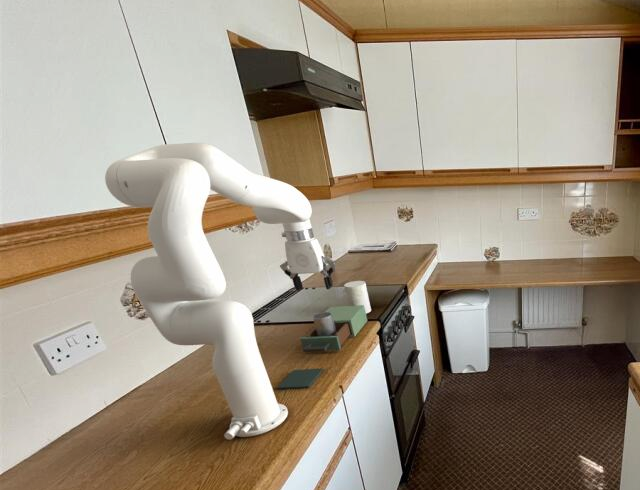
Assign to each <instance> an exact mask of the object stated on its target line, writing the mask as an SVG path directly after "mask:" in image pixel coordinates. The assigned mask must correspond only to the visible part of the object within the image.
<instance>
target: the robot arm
mask: <svg viewBox="0 0 640 490" xmlns="http://www.w3.org/2000/svg"><path fill="white" fill-rule="evenodd" d="M104 180H105V185H106V188H107V190H108V192H109V193H110V194H111V196H112V197H113V198H115V199H116V200H118V202H120V203H122V204H124V205H126V206H130V207H133V208H152V209H151V211H150V214H149V217H148V221H147V235H148V238H149V241H150V243H151V245H152V247H153V249H154V250H155V253H156V255H152V256H147V257H144V258H141V259H139V260H138V261H136V263H134V265H133V266H132V268H131V271H130V284H131V288H132V290H133V292H134V295H135V297H136V298H137V300H138V301H139V303H140V305H141V307H143V309H144V310H145V312H146V313H147V315H148V317H149V318H150V320H151V321H152V323H153V325H154V326H155V328H156V329H157V330H158V332H159V334H160V335H161V336H162V337H163V338H164V339H165V340H166V341H168V342H169V343H171V344H173V345H177V346H205V345H207V346H210V345H211V346H214V347H215V350H214V353H213V355H212V358H211V366H212V370H213V372H214V374H215V376H216V379H217V382H218V383H219V386H220V388H221V391H222V394H223V396H224V398H225V400H226V401H225V402H226V403H227V405H228V408H229V410H230V412H231V415H232V417H231V419H230V421H231V422H230V424H229V429H227V430H226V432H225V433H224V434H223V437H224V439H225V440H230V441H231V440H233V439H234V438H235V437H238V438H250V437H254V436H259V435H262V434H265V433H267V432H271V431H272V430H274V429H275V428H277V427H278V426H280V425H281V424H282V423H283V422H284V421H285V420H286V419H287V417H288V416H289V410H288V408H287V406H286V405H285V404H282V403H278V401H277V400H278V399H277V398H276V395H275V392H274V389H273V386H272V383H271V381H270V377H269V375H268V372H267V369H266V367H265V364H264V361H263V358H262V355H261V353H260V349H259V346H258V342H257V338H256V331H255V321H254V317H253V313H252V312H251V310H250V309H249V308H248V307H247V306H246V305H245V304H243V303H241V302H238V301H235V300H226V299H225V300H223V299H221V300H212V299H216V298H218V297H220V296H222V295H223V294H224V293H225V291H226V289H227V282H226V278H225V274H224V272H223V271H222V269H221V266H220V264H219V262H218V260H217V257H216V255H215V254H214V252H213V249H212V248H211V246H210V244H209V241H208V239H207V237H206V235H205V232H204V228H203V222H202V221H203V219H202V218H203V213H204V209H205V205H206V204H207V203H206V202H207V200H208V198H209V196H210V193H211V191H213V192H215V193H216V194H218V195H220V196H222V197H223V198H226V199H227V200H229V201H231V202H232V203H235V204H237V205H241V206H246V207H252V210H253V214H254V216H255V217H256V219H257V220H259V221H260V222H261V223H264V224H267V225H280V224H281V225H282V227H283V232H281V237H282V238H285V239H286V241H284V249H285V250H284V251H285V256H286V257H285V258H286V260H285V261H284V262H283V263H282V264H280V265H279V269H281V270H282V271H283V272H284V274H286V276H288V277H289V279H290V280H292V283H293V287H294V289H295V290H296V292H299V291H300V290H302V289H303V288H304V286H303V283H302V279H301V276H300V275H303V274H304V275H305V274H318V273H321V274H322V275H323V276H324V277H323V281H324V285H325V289H326V290H331V288H333V285H334V282H333V280H332V279H333V278H332V275H333V273H334V271H335V269H336V266H337V262H336V261H335V260H333V259H330V258H328V257H326V256H325V254H324V252H323V249H322V247H321V245H320V243H319V240H318V239H317V238H316V237H315V234H314V230H313V227H312V224H311V217H312V214H313V213H312V212H313V209H312V205H311V203H310V201H309V199H308V198H307V197H306V195H305V194H303V193H302V192H301V191H300V190H298V189H297V188H296V187H295V186H293V185H291V184H290V183H287V182H284V181H282V180H279V179H275V178H272V177H268V176H266V175H262V174H259V173H255V172H253V171H251V170H249V169H248V168H246V167H245V166H244V165H242V164H241V163H240V162H237V161H236V160H235V159H234V158H232V157H231V156H229V155H228V154H226V153H225V152H224V151H222V150H221V149H219V148H217V147H216V146H214V145H212V144H209V143H205V142H184V143H166V144H160V145H156V146H153V147H149V148H148V149H147V148H146V149H145V150H142V151H140V152H137V153H134V154H131V155H128V156H126V157H124V158H121V159H118V160H116V161H114V162H112V163H111V164H110V165H109V166H108V168H107V169H106V172H105V176H104ZM327 265H329V268H328V267H327Z"/></svg>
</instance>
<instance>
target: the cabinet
mask: <svg viewBox="0 0 640 490" xmlns="http://www.w3.org/2000/svg"><path fill="white" fill-rule="evenodd" d="M324 312H331V313H332V315H333V319H334V323H340V322H349V324H350V328H351V332H352V333H351V334H350V335H349V336H348V337H347V338H355V337H356V336H357V335H358V334H359V332H360V331H361V330H362V329H363V327H364V326H365V325H366V324H367V322H368V317H367V314H366V312H365V308H364V305H359V306H349V305H342V306H341V305H340V306H330V307H329V308H327V309H326V310H325V311H324Z"/></svg>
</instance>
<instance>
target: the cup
mask: <svg viewBox="0 0 640 490" xmlns="http://www.w3.org/2000/svg"><path fill="white" fill-rule="evenodd" d="M343 286H344V291H345V295H346V300H347V304H348V306H359V305H364V308H365V312H366V315H368V314H369V313H370V312H372V307H371V303H370V298H369V292H368V288H367V284H366V281H364V280H354V281H349V282H346V283H345V284H344V285H343Z"/></svg>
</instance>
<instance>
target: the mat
mask: <svg viewBox="0 0 640 490" xmlns="http://www.w3.org/2000/svg"><path fill="white" fill-rule="evenodd" d="M322 372H324V368H307V369H293V370H292V371H291V372H290V373H289V374H288V375H287V377H286V378H284V379H283V381H281V383H280V384H279V385H278V386H277V387H276V389H277V390H293V389H294V390H295V389H310V388H311V386H312V385H313V384H314V383H315V381H316V380H317V379H318V378H319V376H320V375H321V374H322Z"/></svg>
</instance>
